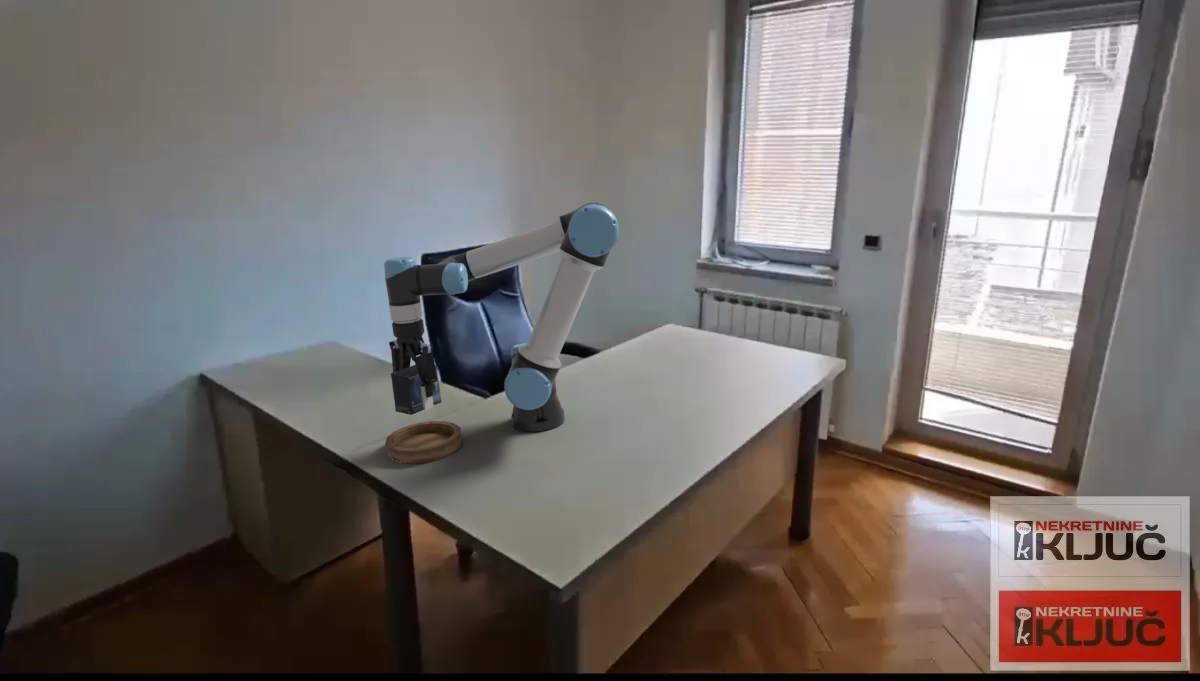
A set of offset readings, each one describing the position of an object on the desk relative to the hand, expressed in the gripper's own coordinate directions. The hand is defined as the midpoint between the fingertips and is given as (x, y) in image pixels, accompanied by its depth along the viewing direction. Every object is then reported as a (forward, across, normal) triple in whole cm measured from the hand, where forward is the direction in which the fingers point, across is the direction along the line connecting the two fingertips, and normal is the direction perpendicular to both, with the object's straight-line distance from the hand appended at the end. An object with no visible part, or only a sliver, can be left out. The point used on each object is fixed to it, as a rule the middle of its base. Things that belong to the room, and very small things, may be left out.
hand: (419, 406), depth 160 cm
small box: (+1, 0, 0) cm, 1 cm away
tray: (+12, 0, 0) cm, 12 cm away
